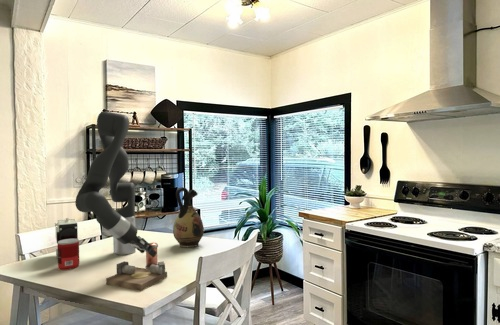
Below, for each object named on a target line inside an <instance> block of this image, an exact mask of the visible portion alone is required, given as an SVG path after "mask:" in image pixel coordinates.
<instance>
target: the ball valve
mask: <svg viewBox="0 0 500 325" xmlns="http://www.w3.org/2000/svg"><path fill="white" fill-rule="evenodd" d="M54 226H55V227H54V228H55V240H56V244H58V241H60V240H64V239H79V237H78V233H79V232H78V223H77V220H76V218H72V219H71V218H69V217H65V219H59V220H57V222H55V223H54ZM55 256H56V258H58V248H56V249H55Z"/></svg>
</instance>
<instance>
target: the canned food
mask: <svg viewBox="0 0 500 325" xmlns="http://www.w3.org/2000/svg"><path fill="white" fill-rule="evenodd" d="M56 246H57V247H56V248H57V249H58V257H57V268H58V270H62V271H63V270H64V271H67V270H71V269H72V270H73V269H75V268H78V267H79V266H80V239H79V238H78V239H64V240H60V241H58V243H57V245H56Z"/></svg>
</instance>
